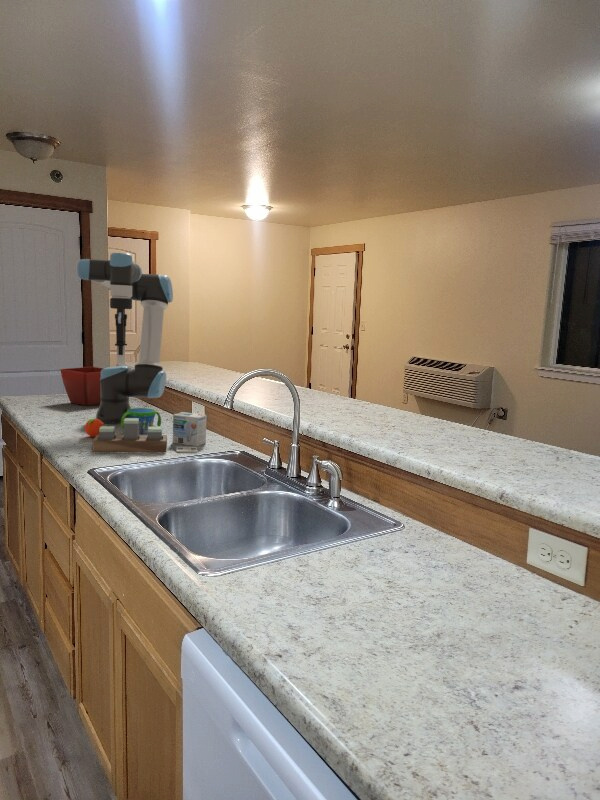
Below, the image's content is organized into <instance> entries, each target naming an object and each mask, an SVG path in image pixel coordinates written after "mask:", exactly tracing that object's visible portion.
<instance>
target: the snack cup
mask: <svg viewBox="0 0 600 800" xmlns="http://www.w3.org/2000/svg"><path fill="white" fill-rule="evenodd" d="M127 415H128V418H139V435H148V427H154V422H155V421H154V419H155V417H156V415H157V417H158V419H157V423H156V425H157V427H161V426H162V425H161V424H162V419H161V418H162V416H161V414H160V413H159V412H158V411H156V409H153V408H149V407H148V408H146V407H139V408H138V407H137V408H135V407H134V408H131V409H128V410H127V412H126V413H124V415H123V416H122V419H121V423H120V426H121V429H122V430H124V419H125V417H126V416H127Z"/></svg>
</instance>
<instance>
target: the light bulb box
mask: <svg viewBox="0 0 600 800" xmlns="http://www.w3.org/2000/svg"><path fill="white" fill-rule="evenodd" d="M207 416H208V415H207V414H203V413H202V414H200V413H193V412H187V411H186V412H184V411H181V412H178V413H174V414H173V419H172V420H173V421H172V444H173V443H174V444H178V445H179V444H180V445H185V446H191V447H199V446H201V445H204V444H206V443H207Z"/></svg>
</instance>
